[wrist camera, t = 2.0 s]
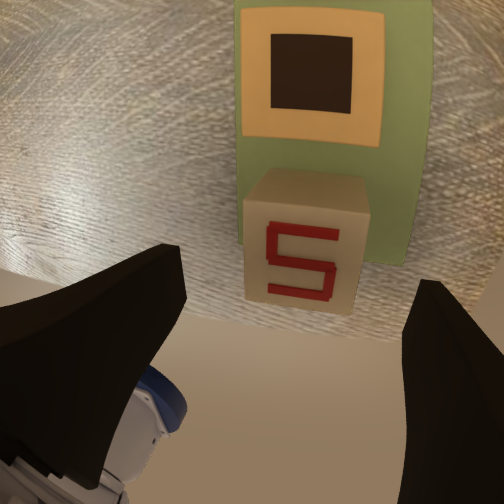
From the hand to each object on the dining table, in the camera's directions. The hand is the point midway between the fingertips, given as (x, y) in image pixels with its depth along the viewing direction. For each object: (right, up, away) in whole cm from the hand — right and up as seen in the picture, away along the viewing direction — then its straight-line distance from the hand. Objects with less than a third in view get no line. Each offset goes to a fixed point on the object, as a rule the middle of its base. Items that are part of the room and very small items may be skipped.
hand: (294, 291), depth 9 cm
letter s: (+1, +3, +5) cm, 6 cm away
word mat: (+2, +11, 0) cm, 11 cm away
